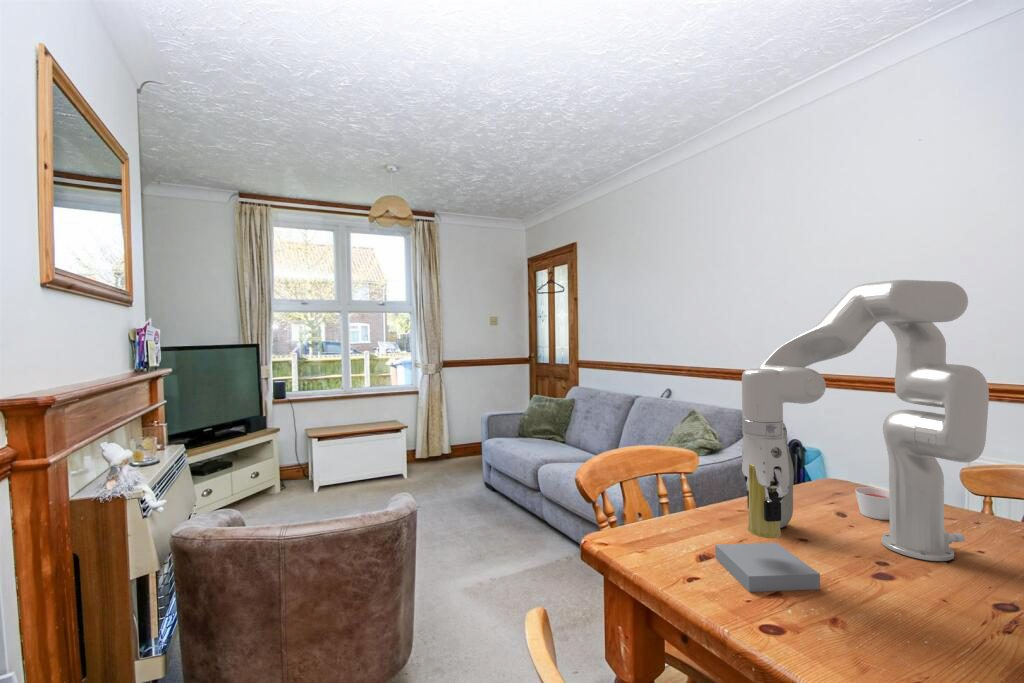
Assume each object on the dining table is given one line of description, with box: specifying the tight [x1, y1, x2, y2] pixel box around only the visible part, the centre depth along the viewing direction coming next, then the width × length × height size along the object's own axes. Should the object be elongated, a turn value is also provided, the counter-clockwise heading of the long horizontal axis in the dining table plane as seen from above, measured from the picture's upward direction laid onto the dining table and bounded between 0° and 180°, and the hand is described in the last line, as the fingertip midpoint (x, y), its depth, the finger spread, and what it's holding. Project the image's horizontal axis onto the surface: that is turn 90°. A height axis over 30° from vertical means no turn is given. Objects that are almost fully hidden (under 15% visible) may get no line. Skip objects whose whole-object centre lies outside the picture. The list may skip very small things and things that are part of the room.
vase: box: [747, 463, 782, 539], centre depth 98 cm, size 6×6×14 cm
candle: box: [854, 486, 890, 521], centre depth 128 cm, size 9×9×6 cm
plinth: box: [714, 542, 821, 593], centre depth 98 cm, size 14×14×3 cm
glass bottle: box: [747, 422, 795, 529], centre depth 122 cm, size 10×10×28 cm
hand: (763, 514), depth 98 cm, fingers closed on vase, 5 cm apart
